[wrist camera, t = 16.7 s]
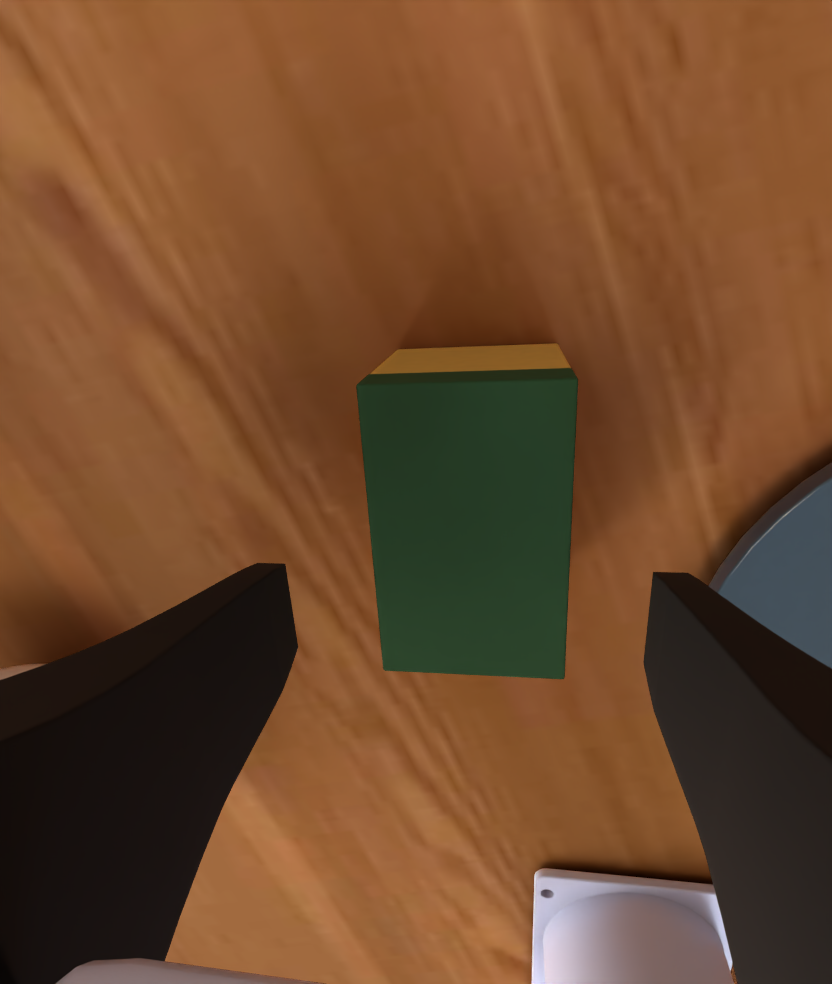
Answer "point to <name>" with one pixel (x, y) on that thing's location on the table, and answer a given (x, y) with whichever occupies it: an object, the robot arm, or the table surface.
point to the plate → (788, 568)
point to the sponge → (471, 507)
